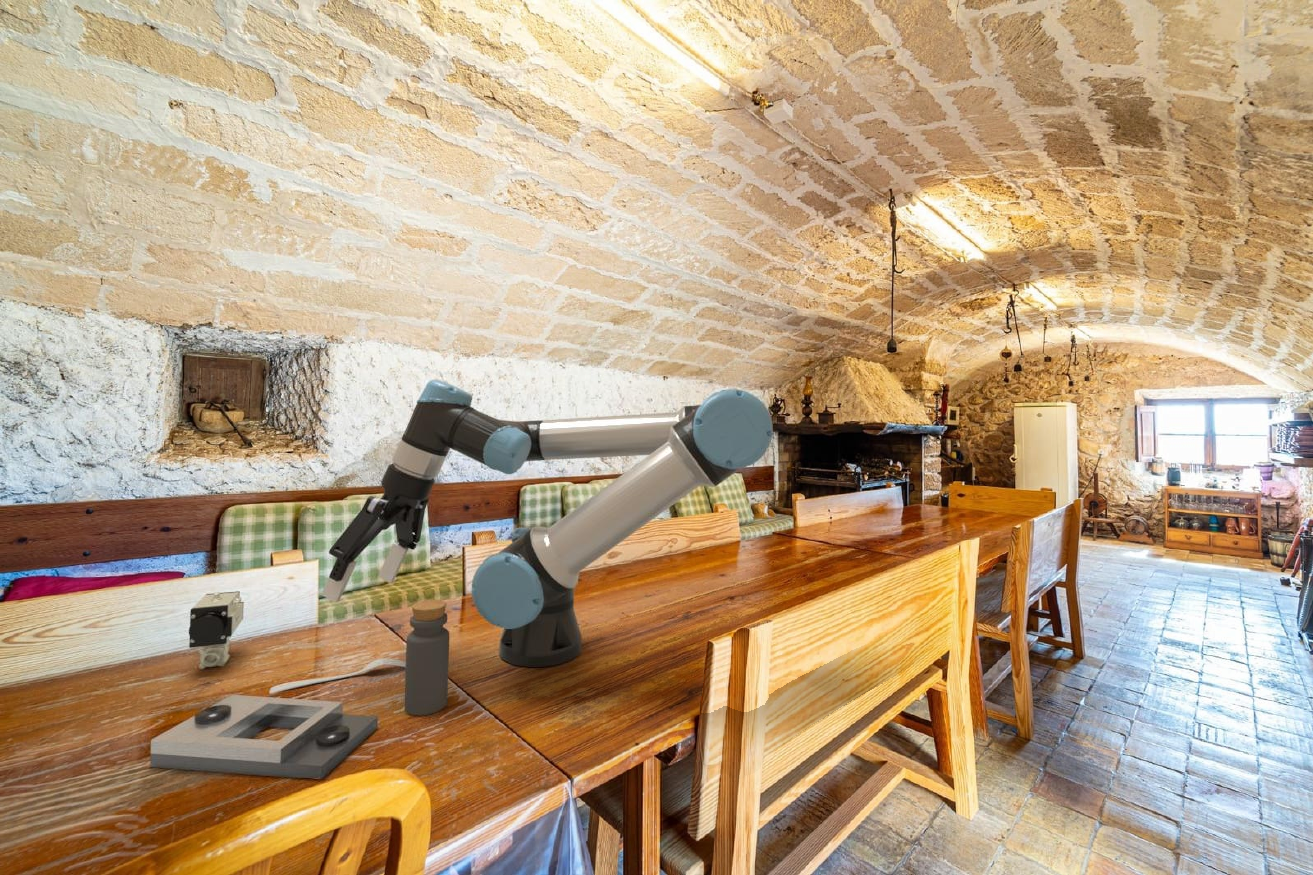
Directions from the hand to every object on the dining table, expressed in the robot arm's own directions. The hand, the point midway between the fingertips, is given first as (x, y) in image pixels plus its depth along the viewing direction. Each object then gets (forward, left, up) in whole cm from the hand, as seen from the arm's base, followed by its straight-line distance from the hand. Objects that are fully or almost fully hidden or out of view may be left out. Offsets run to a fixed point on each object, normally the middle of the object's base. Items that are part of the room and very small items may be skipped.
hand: (359, 588), depth 87 cm
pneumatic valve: (+25, -1, -14) cm, 29 cm away
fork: (+1, +1, -15) cm, 15 cm away
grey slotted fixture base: (-2, +20, -14) cm, 25 cm away
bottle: (-16, +8, -14) cm, 23 cm away
